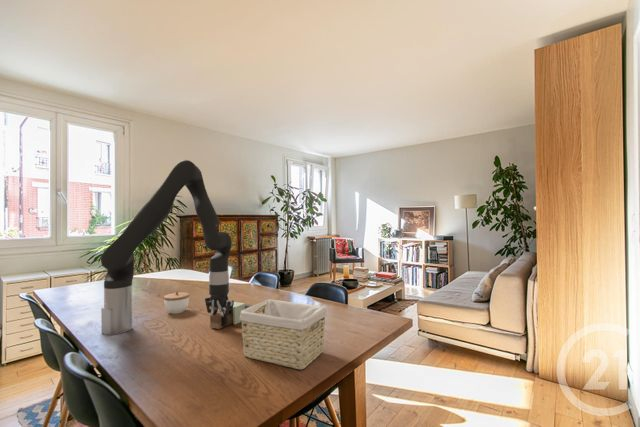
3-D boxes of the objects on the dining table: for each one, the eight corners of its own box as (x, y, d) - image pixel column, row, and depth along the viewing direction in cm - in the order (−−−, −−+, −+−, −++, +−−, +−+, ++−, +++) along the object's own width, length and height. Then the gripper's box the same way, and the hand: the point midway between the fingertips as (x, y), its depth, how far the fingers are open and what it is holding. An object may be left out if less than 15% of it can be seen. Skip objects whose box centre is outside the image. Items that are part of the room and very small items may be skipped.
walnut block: (218, 329, 118) (218, 317, 118) (210, 327, 120) (210, 315, 120) (240, 319, 128) (240, 309, 128) (232, 318, 130) (232, 307, 130)
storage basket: (237, 357, 95) (237, 310, 95) (268, 338, 109) (268, 297, 109) (303, 375, 84) (303, 321, 84) (328, 351, 98) (328, 306, 98)
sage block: (235, 324, 123) (234, 307, 123) (219, 321, 127) (219, 304, 127) (245, 320, 128) (244, 303, 128) (230, 317, 132) (229, 301, 132)
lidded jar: (182, 315, 136) (182, 294, 136) (159, 315, 136) (159, 294, 136) (193, 308, 147) (193, 288, 147) (171, 308, 147) (171, 288, 147)
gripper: (198, 282, 121) (199, 325, 121) (225, 285, 115) (225, 331, 114) (213, 278, 128) (213, 319, 128) (239, 281, 121) (239, 324, 121)
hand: (219, 324), depth 121 cm, fingers closed on walnut block, 4 cm apart
